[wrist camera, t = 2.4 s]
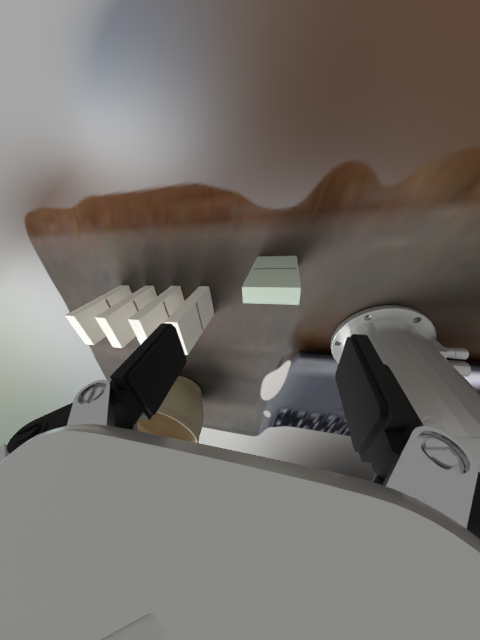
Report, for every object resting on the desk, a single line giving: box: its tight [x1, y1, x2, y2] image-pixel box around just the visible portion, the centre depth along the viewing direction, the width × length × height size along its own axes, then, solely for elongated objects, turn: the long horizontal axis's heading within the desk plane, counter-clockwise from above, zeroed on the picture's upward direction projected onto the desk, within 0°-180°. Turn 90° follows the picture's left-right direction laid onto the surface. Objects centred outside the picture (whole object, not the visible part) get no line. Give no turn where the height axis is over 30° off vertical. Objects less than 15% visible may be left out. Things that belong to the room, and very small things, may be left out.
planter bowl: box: [137, 376, 203, 443], centre depth 42 cm, size 16×16×11 cm
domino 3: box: [128, 286, 184, 345], centre depth 27 cm, size 2×5×10 cm, turn 6°
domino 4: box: [165, 286, 214, 355], centre depth 26 cm, size 2×5×10 cm, turn 6°
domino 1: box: [65, 285, 132, 345], centre depth 29 cm, size 2×5×10 cm, turn 6°
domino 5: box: [242, 256, 301, 305], centre depth 20 cm, size 2×5×10 cm, turn 96°
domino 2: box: [95, 285, 157, 348], centre depth 28 cm, size 2×5×10 cm, turn 6°
